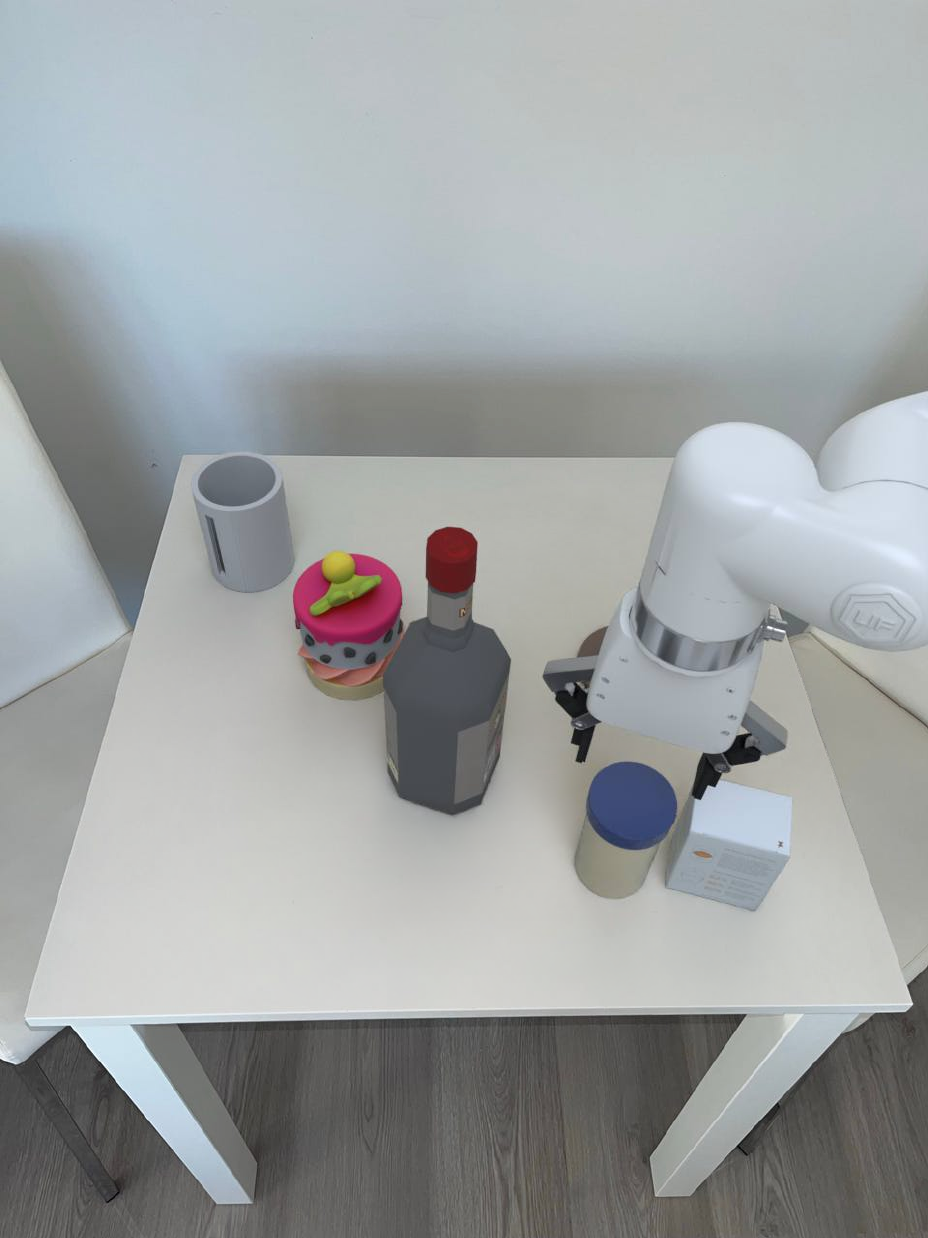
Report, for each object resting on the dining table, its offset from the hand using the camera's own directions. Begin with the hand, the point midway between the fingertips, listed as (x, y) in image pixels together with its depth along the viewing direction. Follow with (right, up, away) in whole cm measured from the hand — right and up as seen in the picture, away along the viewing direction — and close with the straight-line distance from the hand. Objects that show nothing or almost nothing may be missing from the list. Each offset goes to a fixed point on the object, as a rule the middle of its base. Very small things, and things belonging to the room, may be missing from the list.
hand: (641, 764), depth 70 cm
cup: (-37, +17, +35) cm, 53 cm away
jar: (0, -11, +13) cm, 17 cm away
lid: (0, -4, +4) cm, 5 cm away
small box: (+9, -12, +13) cm, 19 cm away
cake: (-25, +6, +26) cm, 36 cm away
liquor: (-15, -4, +18) cm, 24 cm away
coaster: (+4, +6, +27) cm, 28 cm away
